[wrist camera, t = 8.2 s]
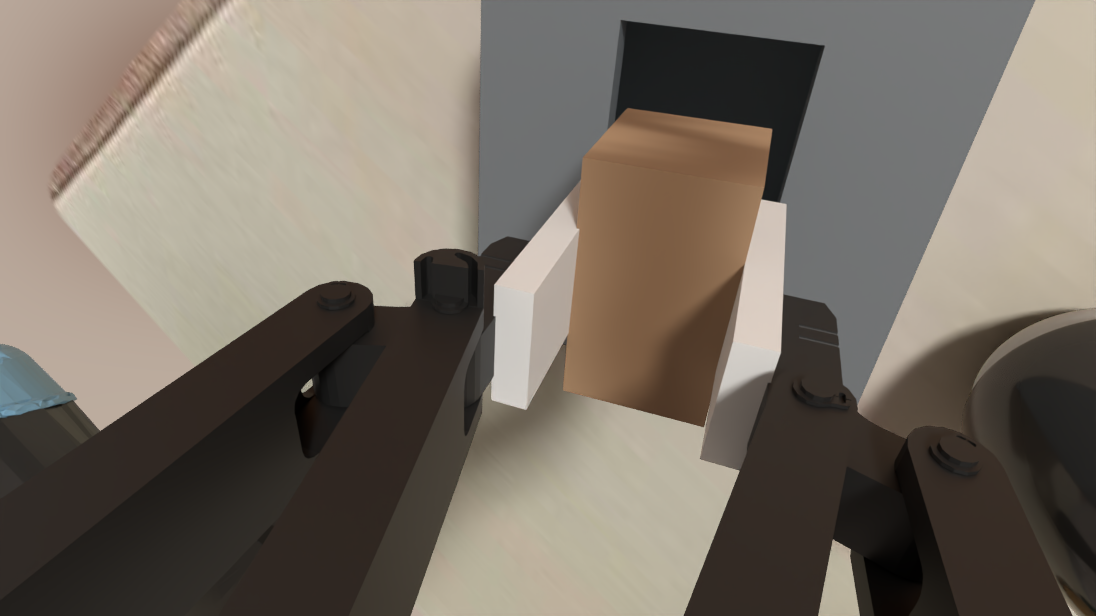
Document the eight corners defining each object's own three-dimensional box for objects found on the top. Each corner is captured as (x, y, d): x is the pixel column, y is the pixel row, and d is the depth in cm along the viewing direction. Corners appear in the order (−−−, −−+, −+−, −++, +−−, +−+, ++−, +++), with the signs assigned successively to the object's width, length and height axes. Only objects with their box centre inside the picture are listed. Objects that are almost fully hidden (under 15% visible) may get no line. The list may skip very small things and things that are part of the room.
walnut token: (603, 309, 19) (562, 390, 16) (627, 107, 16) (582, 157, 13) (721, 336, 18) (703, 427, 15) (772, 128, 15) (764, 187, 12)
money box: (554, 224, 33) (477, 322, 25) (580, -92, 26) (482, -97, 17) (836, 282, 30) (852, 416, 22) (960, -59, 22) (1056, -48, 14)
